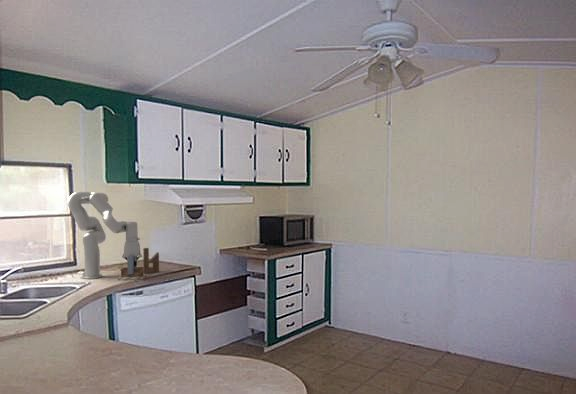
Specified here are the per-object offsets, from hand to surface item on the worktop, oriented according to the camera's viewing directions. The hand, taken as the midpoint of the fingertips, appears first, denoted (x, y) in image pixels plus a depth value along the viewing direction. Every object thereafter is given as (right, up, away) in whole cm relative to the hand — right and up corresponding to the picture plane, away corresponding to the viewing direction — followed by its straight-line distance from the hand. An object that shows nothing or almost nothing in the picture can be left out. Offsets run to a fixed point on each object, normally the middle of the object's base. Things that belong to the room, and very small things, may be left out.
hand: (132, 266), depth 283 cm
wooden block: (+7, -8, +18) cm, 21 cm away
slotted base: (0, -8, 0) cm, 8 cm away
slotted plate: (0, -4, 0) cm, 4 cm away
